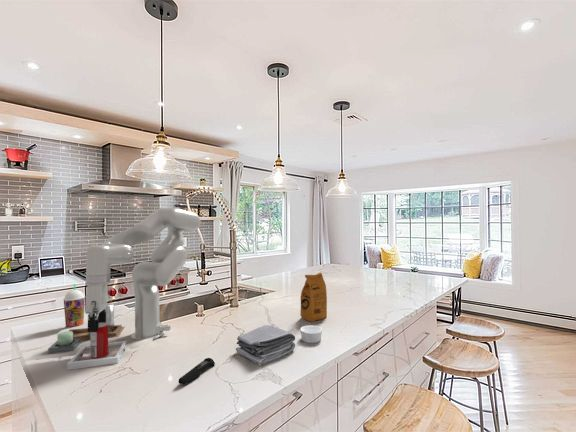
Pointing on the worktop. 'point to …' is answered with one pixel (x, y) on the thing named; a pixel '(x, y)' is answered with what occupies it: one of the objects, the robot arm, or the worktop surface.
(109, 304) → the steel billet
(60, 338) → the button
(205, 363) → the electric trimmer
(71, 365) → the white square frame
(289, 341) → the towel
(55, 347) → the button box
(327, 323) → the worktop surface
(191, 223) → the robot arm
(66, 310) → the smoothie
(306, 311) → the coffee package
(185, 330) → the worktop surface
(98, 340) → the soda can
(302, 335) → the ramekin
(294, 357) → the worktop surface
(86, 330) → the wooden compartment tray
